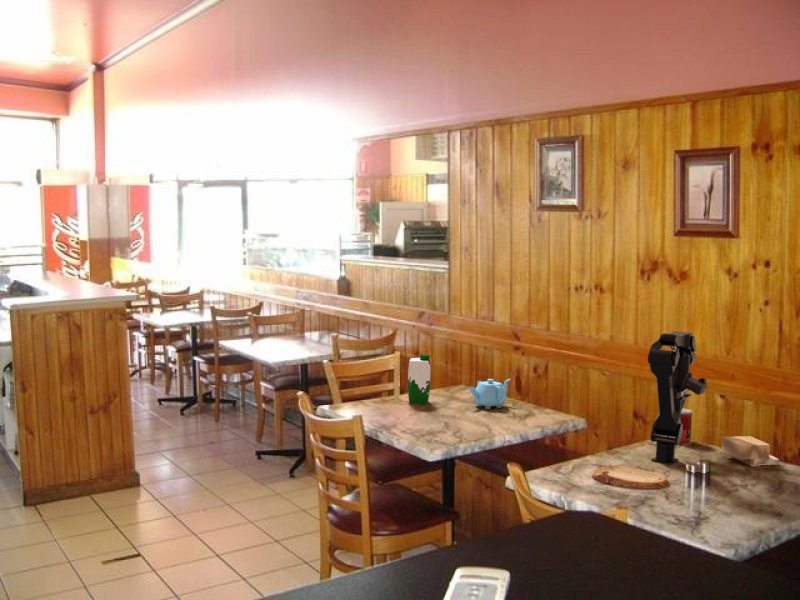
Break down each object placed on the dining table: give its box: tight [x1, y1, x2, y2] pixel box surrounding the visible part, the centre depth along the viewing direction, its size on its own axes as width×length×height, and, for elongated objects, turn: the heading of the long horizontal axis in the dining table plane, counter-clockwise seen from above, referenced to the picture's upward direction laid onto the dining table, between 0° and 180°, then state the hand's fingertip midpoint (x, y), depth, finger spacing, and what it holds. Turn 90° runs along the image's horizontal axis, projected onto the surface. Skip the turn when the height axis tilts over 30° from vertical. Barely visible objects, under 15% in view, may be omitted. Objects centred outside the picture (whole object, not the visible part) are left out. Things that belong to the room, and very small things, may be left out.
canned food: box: [666, 407, 693, 444], centre depth 302 cm, size 8×8×11 cm
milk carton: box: [407, 353, 431, 405], centre depth 355 cm, size 9×9×20 cm
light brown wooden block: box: [721, 435, 771, 460], centre depth 278 cm, size 4×11×10 cm
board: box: [727, 453, 780, 466], centre depth 279 cm, size 10×13×2 cm
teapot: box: [468, 378, 511, 410], centre depth 351 cm, size 15×14×11 cm
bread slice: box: [591, 464, 670, 489], centre depth 254 cm, size 18×18×4 cm
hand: (678, 415), depth 288 cm, fingers closed
